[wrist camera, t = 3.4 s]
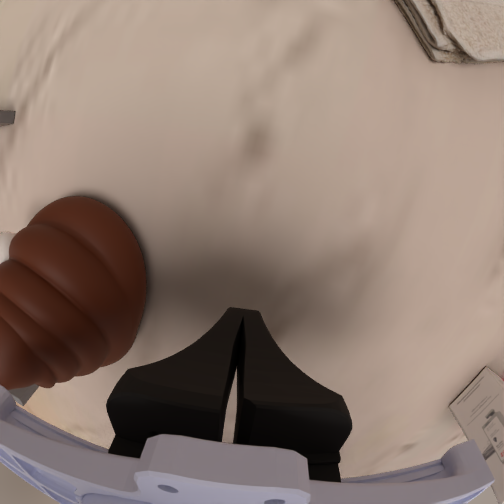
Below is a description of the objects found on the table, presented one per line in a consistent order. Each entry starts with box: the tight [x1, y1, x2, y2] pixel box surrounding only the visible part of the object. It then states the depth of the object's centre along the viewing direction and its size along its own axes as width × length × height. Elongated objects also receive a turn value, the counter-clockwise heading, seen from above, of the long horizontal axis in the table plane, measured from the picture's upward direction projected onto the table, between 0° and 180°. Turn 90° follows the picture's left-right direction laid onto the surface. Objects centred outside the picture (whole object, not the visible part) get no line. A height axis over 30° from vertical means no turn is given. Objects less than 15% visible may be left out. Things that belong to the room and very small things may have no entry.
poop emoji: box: [0, 196, 146, 390], centre depth 10 cm, size 10×8×9 cm
